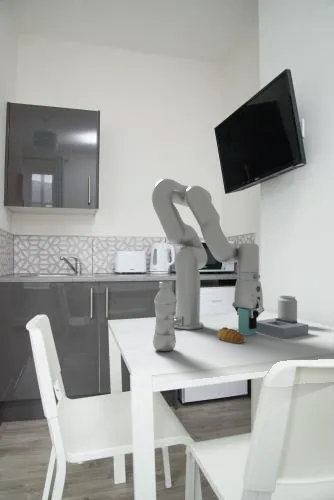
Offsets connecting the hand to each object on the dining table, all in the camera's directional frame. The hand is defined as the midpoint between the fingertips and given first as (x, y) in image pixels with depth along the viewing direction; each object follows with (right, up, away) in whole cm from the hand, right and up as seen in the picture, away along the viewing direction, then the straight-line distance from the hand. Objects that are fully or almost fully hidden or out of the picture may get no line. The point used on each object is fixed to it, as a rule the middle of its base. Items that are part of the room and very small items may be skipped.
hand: (247, 326), depth 118 cm
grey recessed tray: (+13, -3, +2) cm, 13 cm away
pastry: (-8, -3, -10) cm, 13 cm away
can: (+20, -3, +16) cm, 26 cm away
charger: (0, -2, 0) cm, 2 cm away
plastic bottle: (-30, -2, -24) cm, 38 cm away
